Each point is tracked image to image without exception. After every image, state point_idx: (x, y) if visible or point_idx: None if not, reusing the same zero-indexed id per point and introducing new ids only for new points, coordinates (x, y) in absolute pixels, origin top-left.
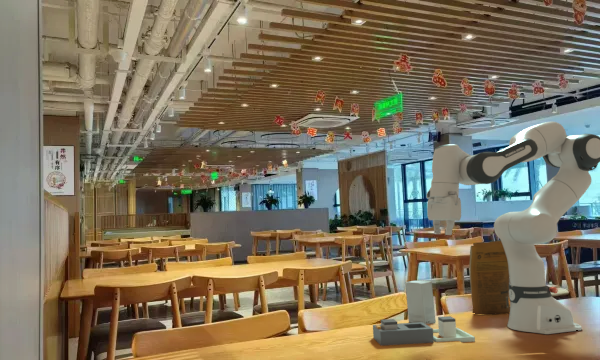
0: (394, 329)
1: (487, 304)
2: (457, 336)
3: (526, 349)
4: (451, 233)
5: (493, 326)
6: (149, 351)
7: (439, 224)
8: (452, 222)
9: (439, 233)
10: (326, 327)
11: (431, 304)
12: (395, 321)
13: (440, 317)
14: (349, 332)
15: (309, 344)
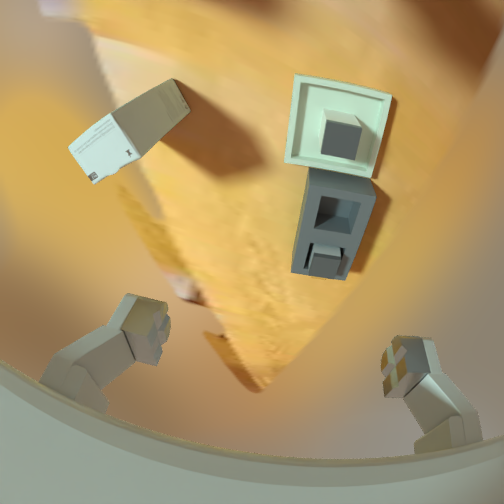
0: (344, 258)
1: None
2: (335, 100)
3: (463, 44)
4: (432, 347)
5: None
6: (252, 390)
7: (79, 360)
8: (469, 433)
9: (164, 309)
10: (176, 276)
11: (155, 99)
12: (337, 262)
13: (329, 152)
14: (218, 260)
15: (275, 317)
